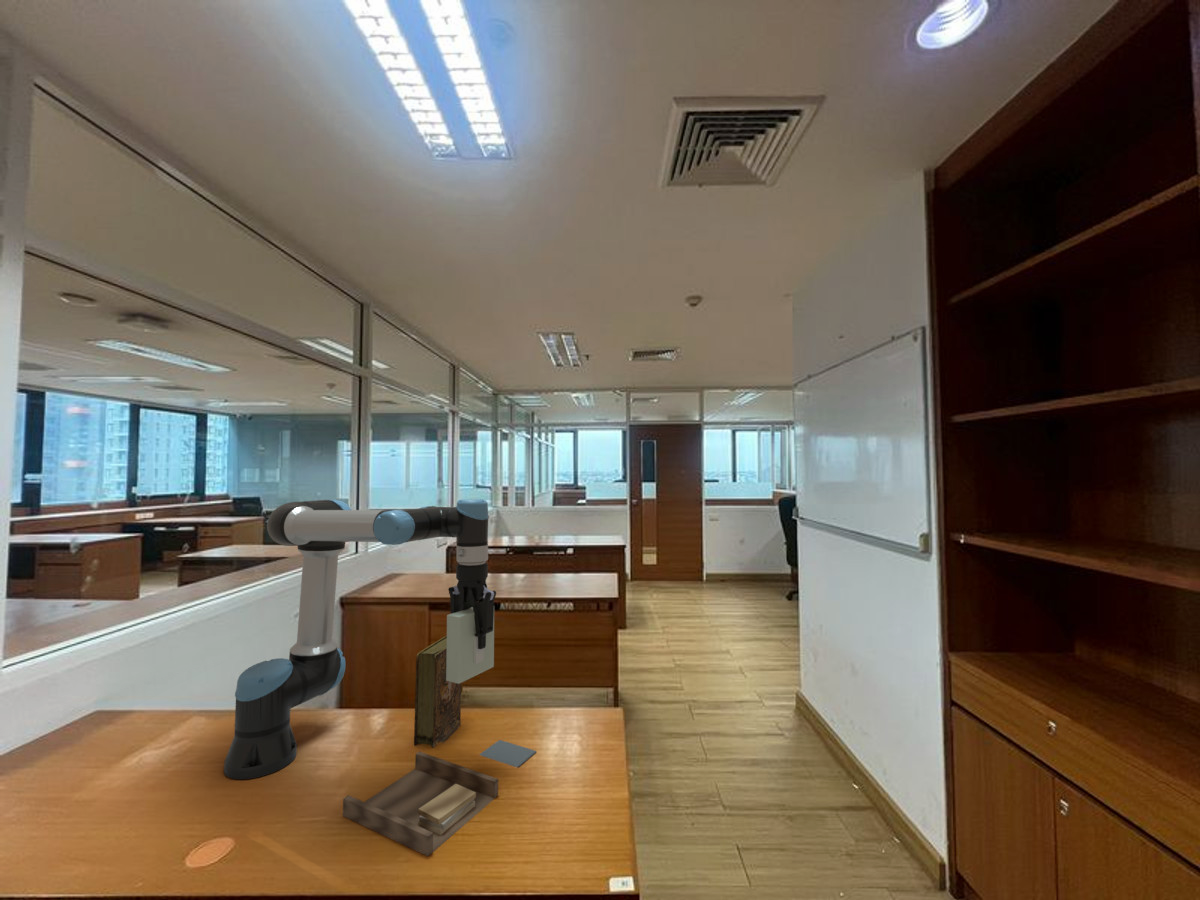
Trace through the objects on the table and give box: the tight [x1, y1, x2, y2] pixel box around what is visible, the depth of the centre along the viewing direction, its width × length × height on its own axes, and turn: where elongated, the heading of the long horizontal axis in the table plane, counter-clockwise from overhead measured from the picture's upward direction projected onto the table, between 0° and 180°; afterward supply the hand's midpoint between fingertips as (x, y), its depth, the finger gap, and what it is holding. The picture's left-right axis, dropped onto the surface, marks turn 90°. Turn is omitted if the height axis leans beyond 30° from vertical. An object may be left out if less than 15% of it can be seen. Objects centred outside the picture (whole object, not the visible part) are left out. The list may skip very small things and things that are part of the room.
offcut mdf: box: [419, 799, 474, 830], centre depth 106 cm, size 6×10×1 cm, turn 158°
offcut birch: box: [418, 801, 475, 835], centre depth 106 cm, size 6×10×1 cm, turn 153°
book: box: [413, 635, 462, 749], centre depth 141 cm, size 16×6×25 cm, turn 168°
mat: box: [479, 739, 537, 769], centre depth 128 cm, size 12×18×1 cm, turn 153°
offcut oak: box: [418, 784, 476, 825], centre depth 106 cm, size 6×10×1 cm, turn 149°
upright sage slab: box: [446, 606, 495, 684], centre depth 123 cm, size 4×12×15 cm, turn 151°
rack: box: [342, 751, 499, 857], centre depth 109 cm, size 24×20×5 cm
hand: (471, 660), depth 123 cm, fingers closed on upright sage slab, 4 cm apart
